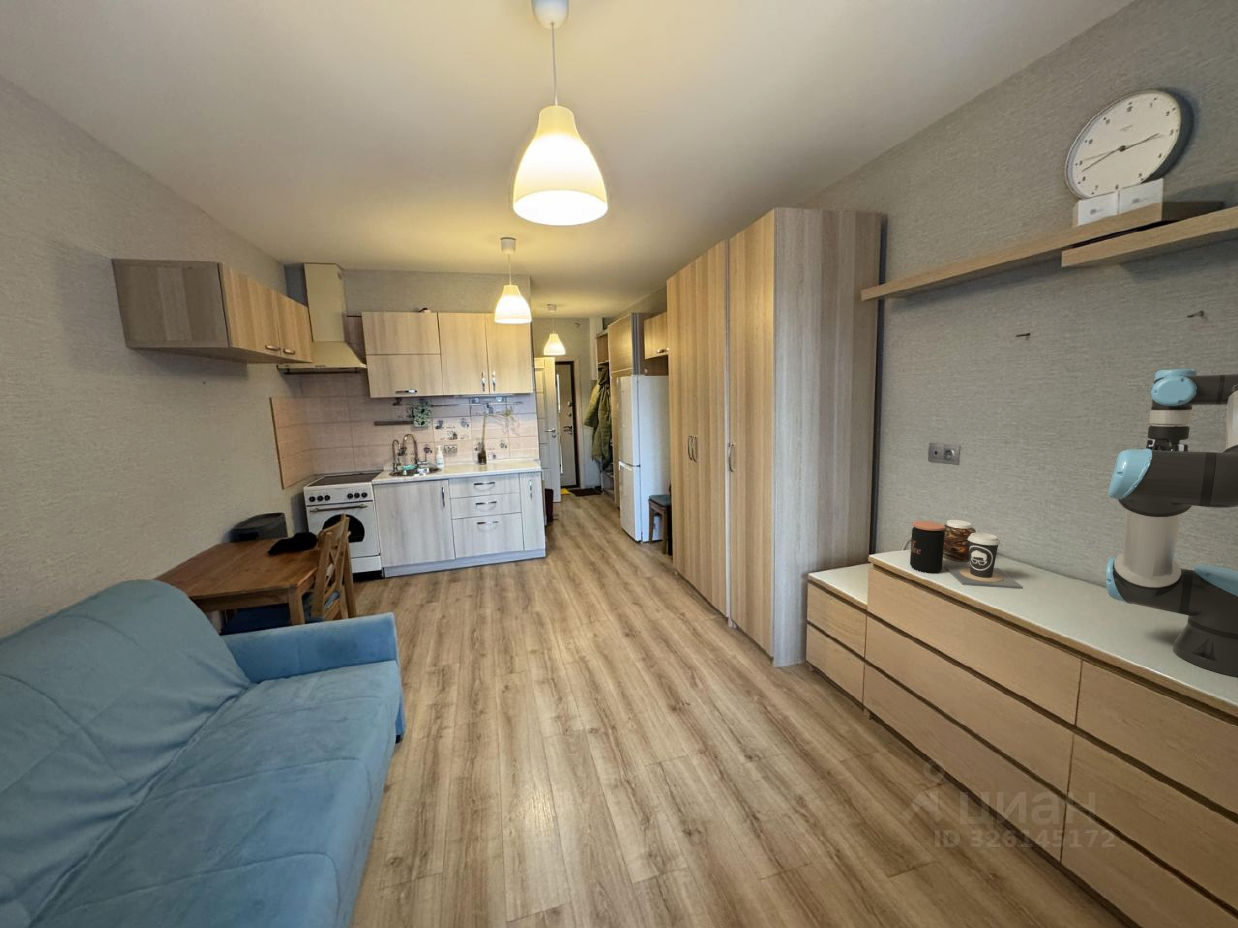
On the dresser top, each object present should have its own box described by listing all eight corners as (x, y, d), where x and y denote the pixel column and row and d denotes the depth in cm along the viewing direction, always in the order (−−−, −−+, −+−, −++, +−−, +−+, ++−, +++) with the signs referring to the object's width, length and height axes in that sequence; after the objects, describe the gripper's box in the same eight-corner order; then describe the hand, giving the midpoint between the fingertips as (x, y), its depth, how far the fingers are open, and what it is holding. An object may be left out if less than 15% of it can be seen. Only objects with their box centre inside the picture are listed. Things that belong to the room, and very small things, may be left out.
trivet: (1022, 588, 163) (1023, 586, 163) (962, 584, 168) (962, 582, 168) (998, 570, 180) (998, 567, 180) (943, 566, 185) (944, 564, 185)
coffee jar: (909, 562, 191) (911, 519, 189) (940, 566, 186) (943, 522, 184) (910, 571, 182) (913, 526, 180) (943, 575, 177) (947, 529, 174)
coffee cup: (1003, 580, 169) (1006, 539, 166) (973, 578, 171) (976, 539, 168) (988, 570, 178) (991, 532, 176) (960, 569, 180) (962, 531, 178)
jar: (976, 556, 196) (978, 521, 194) (972, 564, 187) (974, 527, 185) (942, 550, 204) (944, 517, 202) (937, 558, 195) (939, 523, 193)
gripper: (1219, 428, 118) (1207, 510, 121) (1162, 422, 140) (1153, 491, 143) (1176, 428, 122) (1166, 508, 125) (1127, 422, 144) (1119, 490, 147)
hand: (1159, 499), depth 134 cm, fingers open, 13 cm apart
